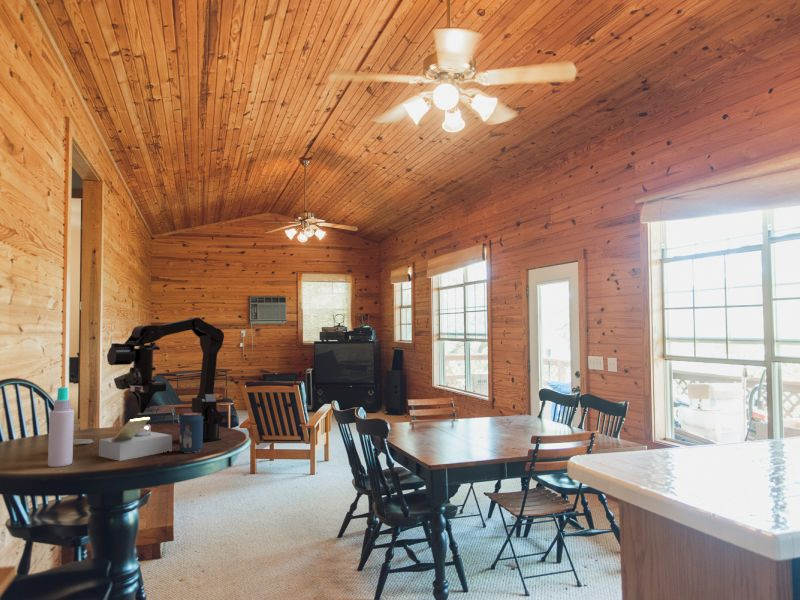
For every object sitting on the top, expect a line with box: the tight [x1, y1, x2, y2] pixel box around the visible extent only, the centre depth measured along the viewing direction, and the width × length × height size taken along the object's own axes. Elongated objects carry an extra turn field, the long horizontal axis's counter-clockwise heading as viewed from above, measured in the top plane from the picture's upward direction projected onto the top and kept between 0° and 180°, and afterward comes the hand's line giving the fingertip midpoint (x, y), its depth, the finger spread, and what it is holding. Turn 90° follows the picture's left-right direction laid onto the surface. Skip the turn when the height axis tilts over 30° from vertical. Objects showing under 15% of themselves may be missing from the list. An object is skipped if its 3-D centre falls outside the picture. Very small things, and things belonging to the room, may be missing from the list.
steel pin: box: [134, 424, 152, 437], centre depth 178 cm, size 5×5×8 cm
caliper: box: [73, 438, 95, 445], centre depth 183 cm, size 20×1×6 cm, turn 174°
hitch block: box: [98, 431, 173, 462], centre depth 174 cm, size 17×12×6 cm
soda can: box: [179, 411, 204, 454], centre depth 177 cm, size 7×7×12 cm
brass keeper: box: [112, 416, 151, 440], centre depth 166 cm, size 6×11×1 cm
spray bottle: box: [47, 387, 75, 468], centre depth 159 cm, size 6×6×22 cm
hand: (141, 413), depth 177 cm, fingers closed
